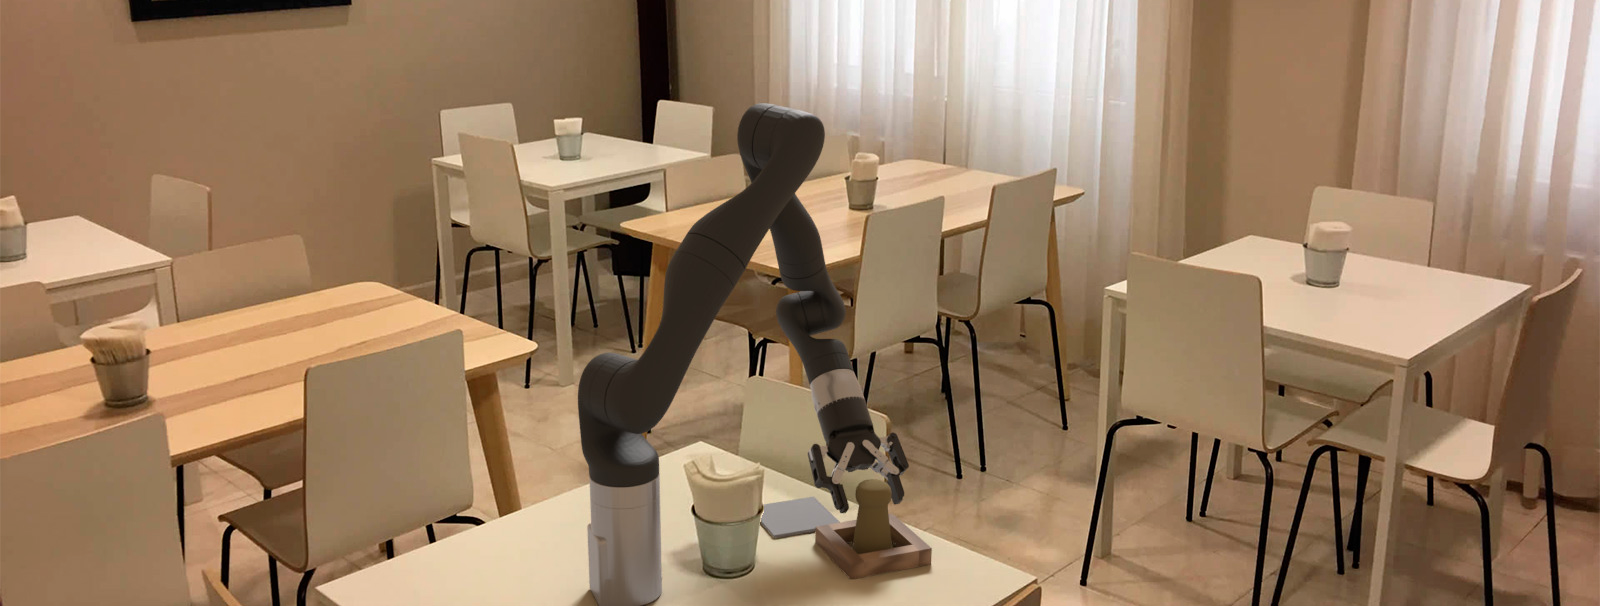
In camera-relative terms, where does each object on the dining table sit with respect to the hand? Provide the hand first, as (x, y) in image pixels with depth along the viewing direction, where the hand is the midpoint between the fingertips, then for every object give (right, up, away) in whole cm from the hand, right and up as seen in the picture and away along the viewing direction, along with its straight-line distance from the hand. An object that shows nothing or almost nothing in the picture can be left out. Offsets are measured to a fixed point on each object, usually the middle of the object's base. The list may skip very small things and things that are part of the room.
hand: (872, 506), depth 186 cm
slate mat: (-11, -4, +13) cm, 17 cm away
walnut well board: (0, -7, +1) cm, 7 cm away
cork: (0, -7, +1) cm, 7 cm away
